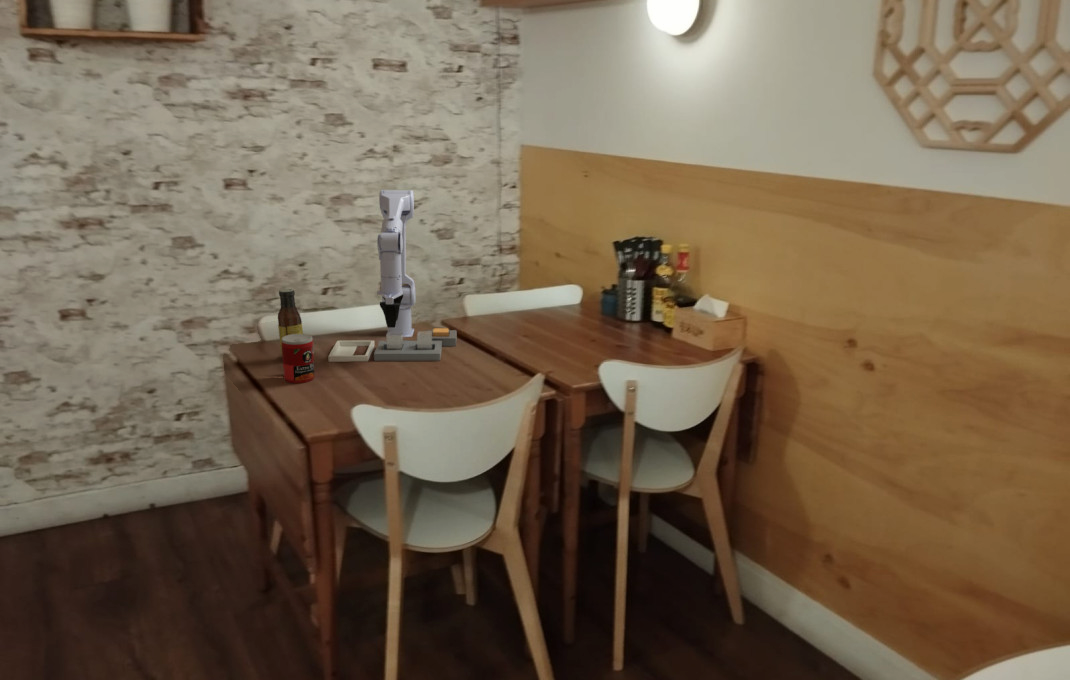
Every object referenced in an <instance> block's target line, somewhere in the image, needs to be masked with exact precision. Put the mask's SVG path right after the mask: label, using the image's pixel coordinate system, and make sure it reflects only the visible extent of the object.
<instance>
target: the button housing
mask: <svg viewBox="0 0 1070 680" xmlns="http://www.w3.org/2000/svg"><path fill="white" fill-rule="evenodd" d="M433 330H434V329H432V330H429V329H428V330H426V331H432V341H442V347H456V346H457V340H458V339H457V337H458V336H457V333H458V332H457V329H452V330H451V329H449V337H433Z"/></svg>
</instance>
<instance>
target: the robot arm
mask: <svg viewBox="0 0 1070 680" xmlns="http://www.w3.org/2000/svg"><path fill="white" fill-rule="evenodd" d="M414 196H415V194H414V190H412V189H409V190H406V189H405V190H403V189H402V190H401V189H394V190H393V189H392V190H391V189H381V190H380V191H379V198H378V199H379V201H378V202H379V210H380V212H381V215H382V218H383V220H382V224H381V230H380V234H377V240H376V241H377V242H376V243H377V245H376V246H377V251H378V259H379V268H380V271H379V274H380V290H377V291H376V295H379V296H381V301H380V302H379V307H380V309H381V310H382V312H383V316H384V319H385V323H386V327H387V332H386V334H385V337H386V338H387V333H388V332H403V338H405V337H406V338H409V337H411V338H412V337H413V335H414V333H415V328H412V327H413V325H412V306H415V304H416V283H415V281H414V279H413V278H412V277H410V276H409V275H407V264H406V263H407V261H406V260H407V257H406V254H407V251H406V248H407V247H406V245H407V242H406V241H407V240H406V235H407V234H406V229H407V228H406V227H407V223H408V221H409V220H411V219H413V218H414V215H415V214H414V213H415V211H414V208H415V198H414Z"/></svg>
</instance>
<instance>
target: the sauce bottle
mask: <svg viewBox="0 0 1070 680" xmlns="http://www.w3.org/2000/svg"><path fill="white" fill-rule="evenodd" d="M295 294H296V293H295V289H293V288H283V289H279V290H278V296H279V299H280V300H279V301H280V308H279V310H278V313H277V322H278V323H277V324H278V325H277V326H278V336H279V345H280V352H281V353H280V354H281V357H282V343H281V340H282V337H284V336H287V335H292V334H304V331H303V323H302V322H303V321H302V316H301V314H300V312H299V310H298V309H297V306H296V300H295ZM281 360H283V358H282V359H281Z"/></svg>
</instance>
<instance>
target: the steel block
mask: <svg viewBox="0 0 1070 680" xmlns="http://www.w3.org/2000/svg"><path fill="white" fill-rule="evenodd" d="M387 332H388V331H387ZM387 332H386V334H387V337H386V341H387V350H402V348H403V341H404V340H403V339H404V337H403V332H388V333H387Z"/></svg>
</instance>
